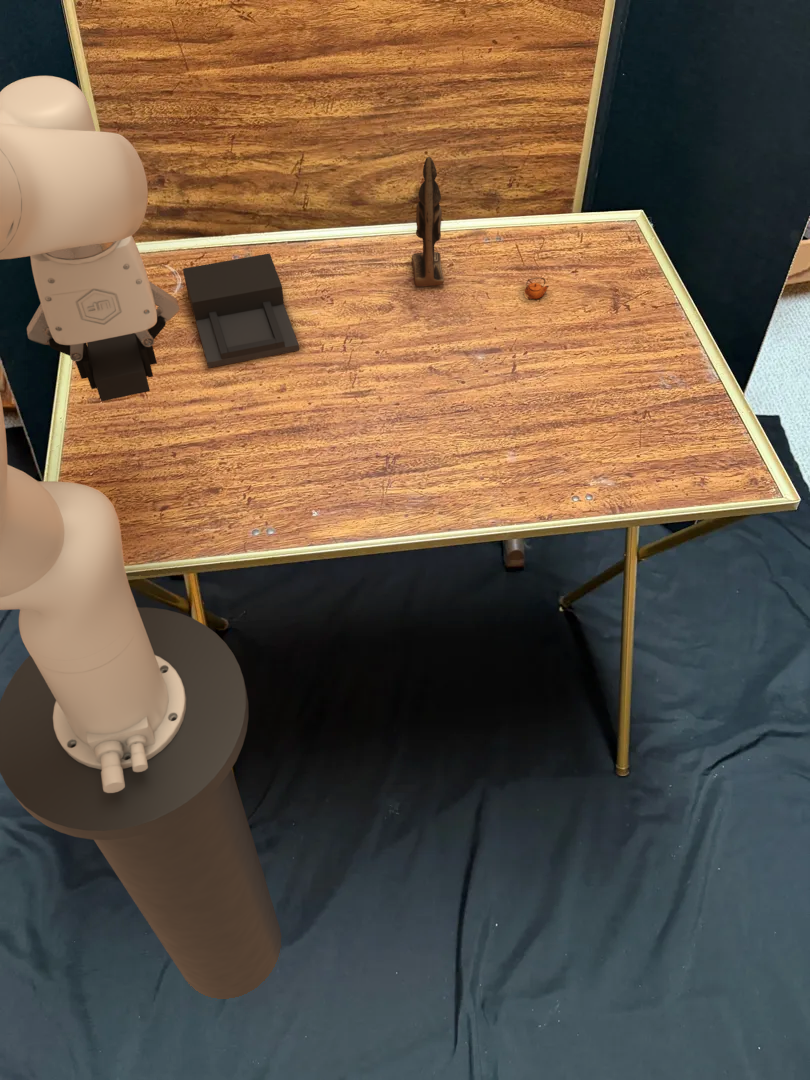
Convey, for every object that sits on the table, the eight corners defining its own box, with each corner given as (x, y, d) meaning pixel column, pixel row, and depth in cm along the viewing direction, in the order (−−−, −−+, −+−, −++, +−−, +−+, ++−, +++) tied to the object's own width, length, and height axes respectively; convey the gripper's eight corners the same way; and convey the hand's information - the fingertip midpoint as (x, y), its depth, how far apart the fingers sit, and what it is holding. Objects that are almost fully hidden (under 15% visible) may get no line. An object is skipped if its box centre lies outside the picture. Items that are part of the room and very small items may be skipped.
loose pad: (150, 391, 101) (144, 370, 98) (101, 401, 100) (94, 380, 97) (141, 353, 104) (135, 331, 101) (93, 362, 103) (86, 341, 101)
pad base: (299, 350, 127) (297, 326, 124) (208, 368, 125) (203, 344, 122) (272, 277, 137) (269, 253, 133) (187, 292, 134) (182, 268, 131)
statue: (439, 260, 139) (446, 128, 124) (445, 291, 135) (452, 159, 119) (410, 261, 139) (413, 129, 123) (415, 292, 135) (418, 160, 119)
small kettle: (529, 285, 136) (531, 269, 134) (548, 292, 135) (551, 276, 133) (520, 296, 135) (522, 280, 133) (539, 303, 134) (541, 287, 132)
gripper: (-21, 268, 83) (40, 416, 98) (178, 232, 86) (208, 381, 101) (-26, 217, 87) (33, 366, 102) (164, 185, 91) (195, 334, 105)
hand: (120, 372), depth 101 cm, fingers closed on loose pad, 5 cm apart
